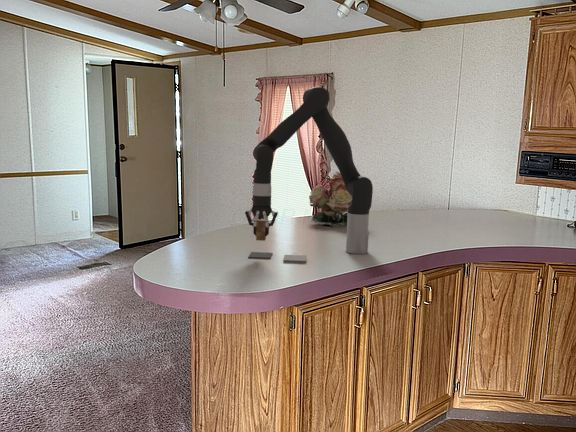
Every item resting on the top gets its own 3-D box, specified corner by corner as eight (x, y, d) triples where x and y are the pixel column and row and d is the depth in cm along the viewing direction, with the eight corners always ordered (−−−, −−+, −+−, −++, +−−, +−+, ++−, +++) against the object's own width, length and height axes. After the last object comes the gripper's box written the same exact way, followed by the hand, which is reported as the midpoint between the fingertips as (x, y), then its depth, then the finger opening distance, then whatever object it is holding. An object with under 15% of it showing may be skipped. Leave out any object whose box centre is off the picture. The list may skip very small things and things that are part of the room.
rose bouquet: (302, 221, 310) (304, 169, 306) (345, 218, 323) (347, 169, 318) (323, 228, 287) (325, 173, 283) (368, 226, 300) (371, 173, 295)
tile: (306, 255, 218) (306, 260, 209) (306, 259, 218) (305, 264, 209) (284, 254, 218) (283, 259, 209) (284, 258, 218) (283, 263, 209)
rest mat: (272, 254, 223) (272, 252, 223) (270, 259, 214) (270, 257, 214) (251, 253, 224) (251, 251, 224) (248, 258, 215) (248, 256, 215)
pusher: (265, 238, 219) (266, 219, 218) (264, 240, 216) (265, 221, 215) (257, 238, 220) (257, 219, 218) (256, 240, 216) (256, 221, 215)
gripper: (280, 193, 218) (278, 234, 221) (246, 192, 219) (245, 233, 222) (278, 195, 211) (277, 238, 213) (243, 194, 212) (242, 236, 214)
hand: (261, 235), depth 218 cm, fingers closed on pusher, 3 cm apart
